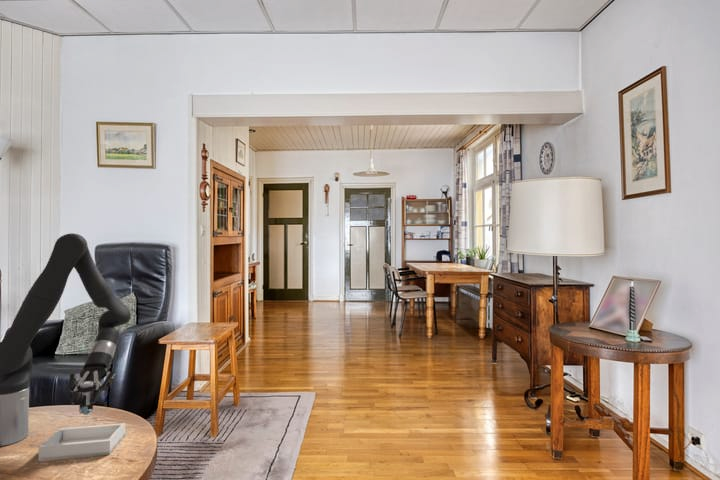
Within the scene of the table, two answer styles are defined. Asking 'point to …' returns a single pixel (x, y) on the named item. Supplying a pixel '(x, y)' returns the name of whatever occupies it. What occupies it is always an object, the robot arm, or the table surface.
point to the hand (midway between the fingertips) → (82, 403)
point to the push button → (86, 396)
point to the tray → (82, 442)
